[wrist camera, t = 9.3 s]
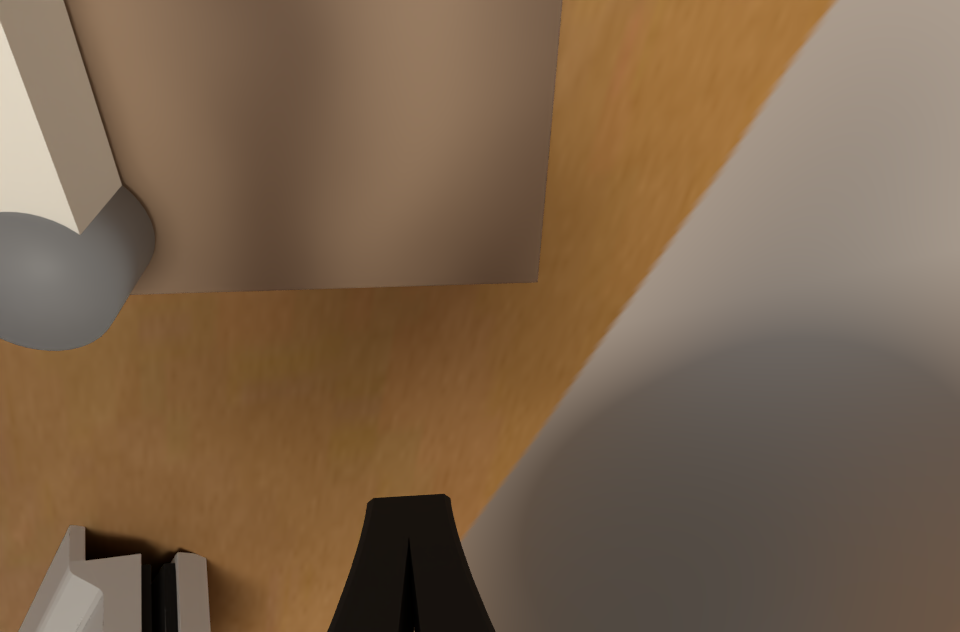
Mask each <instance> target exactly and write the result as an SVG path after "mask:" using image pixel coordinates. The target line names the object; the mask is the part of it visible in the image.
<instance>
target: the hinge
mask: <svg viewBox="0 0 960 632" xmlns="http://www.w3.org/2000/svg"><path fill="white" fill-rule="evenodd" d="M18 632H211V628H210V612H209V596H208V580H207V564H206V558H204V557H202V556H199V555H197V554H194V553H182V552H178V553H177V554H176V555H175V557H174V558H173V560H172V561H171V563H164V564H163V566H162V568H161V569H160V571H159V572H158V574H157V576H156V577H155V579H154V580H153V582H152V583H151V564H145V565H141V554H135V555H127V556H119V557H111V558H103V559H95V560H87V561H86V560H85V527H82V526H76V525H70V526H69V528H68V530H67V532H66V534H65V536H64V538H63V540H62V542H61V544H60V546H59V549H58V551H57V553H56V555H55V557H54V559H53V561H52V563H51V565H50V567H49V569H48V571H47V573H46V575H45V578H44V580H43V582H42V584H41V586H40V588H39V590H38V592H37V594H36V596H35V598H34V600H33V602H32V604H31V606H30V609H29V611H28V613H27V615H26V617H25V619H24V621H23V623H22V625H21V627H20V629H19V631H18Z"/></svg>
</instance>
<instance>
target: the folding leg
mask: <svg viewBox="0 0 960 632" xmlns="http://www.w3.org/2000/svg"><path fill="white" fill-rule="evenodd" d="M154 248H155V234H154V230H153V226H152V223H151V220H150V218H149V216H148V214H147V212H146V210H145V209H144V207H143V206H142V205H141V203H140V202H139V201H138V200H137V199H136V197H135V196H134V195H133V194H132V193H131V192H130V191H128V190H127V189H126V188H125V187H124V186H122V184H121V181H120V177H119V174H118V171H117V168H116V165H115V162H114V159H113V155H112V152H111V149H110V146H109V143H108V140H107V136H106V133H105V130H104V127H103V124H102V121H101V117H100V114H99V111H98V108H97V105H96V102H95V99H94V95H93V92H92V89H91V86H90V83H89V80H88V76H87V73H86V70H85V67H84V64H83V61H82V58H81V54H80V51H79V48H78V45H77V42H76V39H75V35H74V32H73V29H72V26H71V23H70V20H69V17H68V13H67V10H66V7H65V4H64V1H63V0H0V338H1V339H3V340H5V341H8V342H11V343H13V344H16V345H20V346H23V347H27V348H32V349H38V350H48V351H60V350H70V349H74V348H79V347H82V346H85V345H87V344H89V343H91V342H93V341H95V340H97V339H98V338H99V337H101V336H102V335H103V334H104V333H105V332H106V331H107V330H108V329H109V327H110V326H111V324H112V323H113V321H114V320H115V318H116V316H117V315H118V313H119V311H120V310H121V308H122V306H123V305H124V303H125V302H126V300H127V298H128V297H129V295H130V293H131V292H132V290H133V289H134V287H135V285H136V284H137V282H138V280H139V279H140V277H141V275H142V274H143V272H144V271H145V269H146V267H147V266H148V264H149V262H150V260H151V258H152V256H153V252H154Z"/></svg>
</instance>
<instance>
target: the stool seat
mask: <svg viewBox="0 0 960 632" xmlns="http://www.w3.org/2000/svg"><path fill="white" fill-rule="evenodd" d="M63 1H64V4H65V7H66V10H67V13H68V17H69V20H70V23H71V26H72V29H73V32H74V35H75V39H76V42H77V45H78V48H79V51H80V54H81V58H82V61H83V64H84V67H85V70H86V73H87V76H88V80H89V83H90V86H91V89H92V92H93V95H94V99H95V102H96V105H97V108H98V111H99V114H100V117H101V121H102V124H103V127H104V130H105V133H106V136H107V140H108V143H109V146H110V149H111V152H112V155H113V159H114V162H115V165H116V168H117V171H118V174H119V177H120V181H121V184H122V186H124V187H125V188H126V189H127V190H128V191H130V192H131V193H132V194H133V195H134V196H135V197H136V199H137V200H138V201H139V202H140V203H141V205H142V206H143V207H144V209H145V210H146V212H147V214H148V216H149V218H150V220H151V223H152V226H153V230H154V234H155V248H154V252H153V256H152V258H151V260H150V262H149V264H148V266H147V267H146V269H145V271H144V272H143V274H142V275H141V277H140V279H139V280H138V282H137V284H136V285H135V287H134V289H133V290H132V292H131V293H130V295H138V294H171V293H204V292H236V291H269V290H302V289H335V288H368V287H400V286H433V285H466V284H499V283H532V282H538V271H539V260H540V248H541V237H542V226H543V214H544V203H545V192H546V181H547V169H548V158H549V147H550V135H551V124H552V113H553V101H554V90H555V79H556V67H557V56H558V45H559V33H560V22H561V11H562V0H63Z"/></svg>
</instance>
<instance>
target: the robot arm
mask: <svg viewBox="0 0 960 632" xmlns="http://www.w3.org/2000/svg"><path fill="white" fill-rule="evenodd" d="M414 631H415V632H495V629H494V627H493V625H492V623H491V621H490V618H489V616H488V614H487V611H486V609H485V607H484V604H483V602H482V599H481V597H480V594H479V592H478V590H477V587H476V585H475V582H474V580H473V577H472V574H471V572H470V569H469V566H468V563H467V561H466V557H465V555H464V552H463V549H462V546H461V542H460V539H459V536H458V532H457V529H456V525H455V521H454V516H453V512H452V507H451V500H450V498H449V497H448V496H446V495H445V494H435V495H418V496H401V497H385V498H373V499H372V500H371V501H369V502H368V503H367V509H366V515H365V520H364V524H363V528H362V533H361V537H360V540H359V544H358V547H357V551H356V554H355V557H354V560H353V563H352V567H351V570H350V573H349V576H348V579H347V581H346V584H345V587H344V589H343V592H342V595H341V598H340V600H339V603H338V606H337V608H336V611H335V614H334V617H333V619H332V622H331V624H330V627H329V629H328V631H327V632H414Z"/></svg>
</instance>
